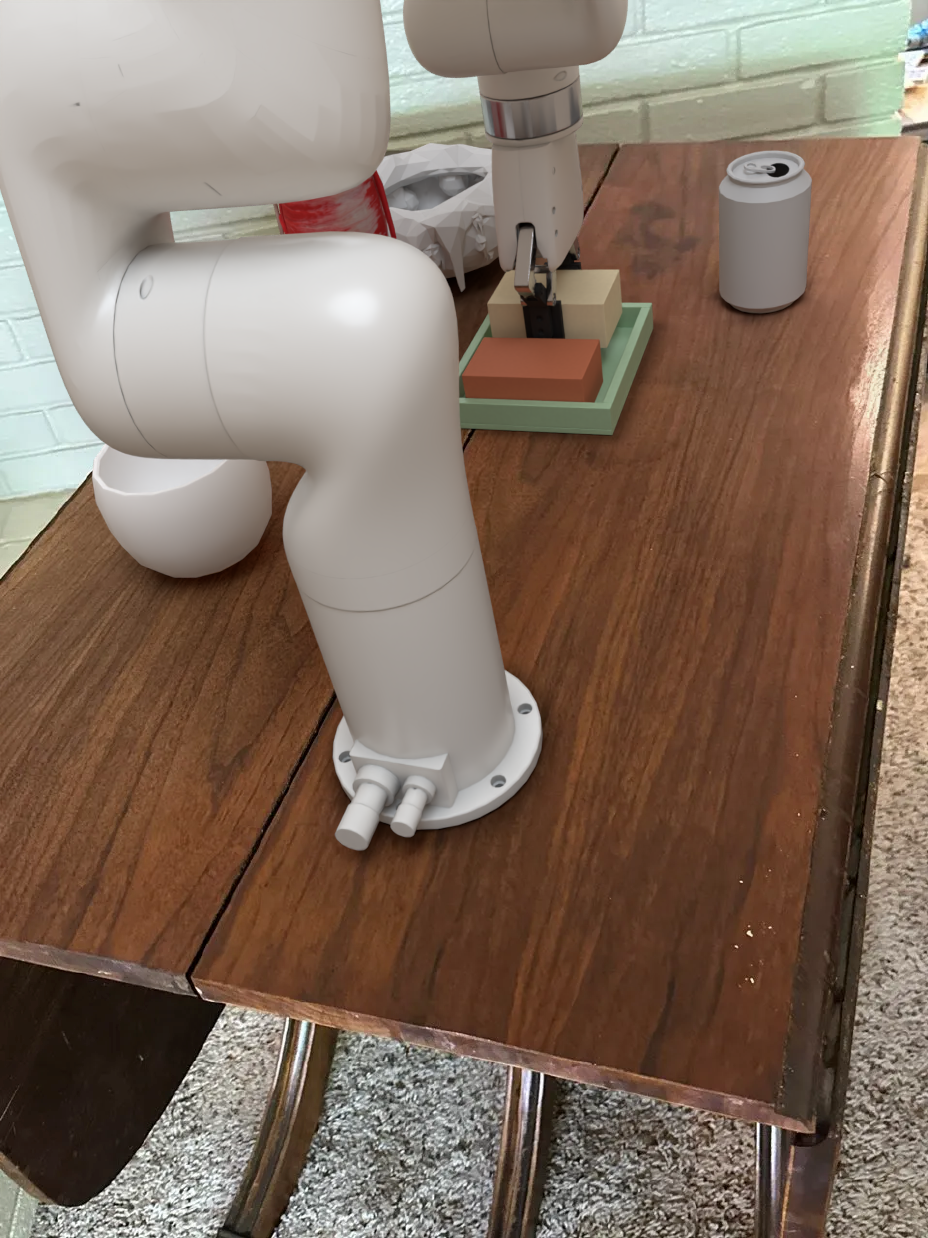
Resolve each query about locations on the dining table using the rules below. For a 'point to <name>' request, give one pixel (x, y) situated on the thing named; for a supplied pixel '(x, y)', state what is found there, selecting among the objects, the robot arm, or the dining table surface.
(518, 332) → the pad beige
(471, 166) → the bowl
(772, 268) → the can
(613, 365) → the frame
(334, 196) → the water bottle
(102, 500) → the cup
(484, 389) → the pad terracotta
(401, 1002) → the dining table surface
